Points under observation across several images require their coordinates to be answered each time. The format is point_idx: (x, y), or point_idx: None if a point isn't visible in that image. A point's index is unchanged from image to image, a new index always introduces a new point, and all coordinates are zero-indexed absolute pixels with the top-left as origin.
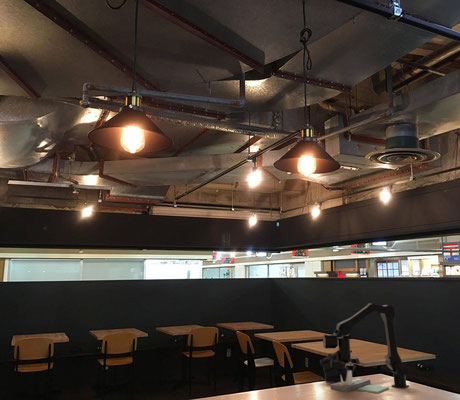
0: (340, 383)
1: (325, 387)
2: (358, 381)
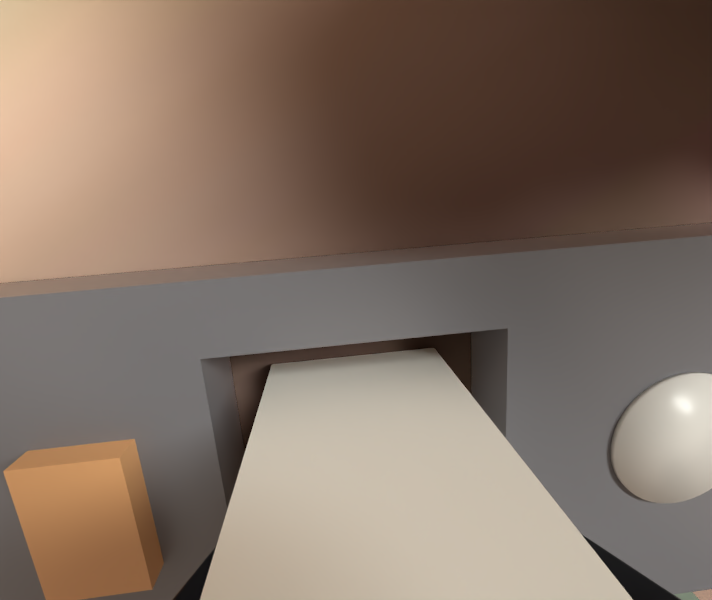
0: (109, 499)
1: (11, 81)
2: (704, 513)
